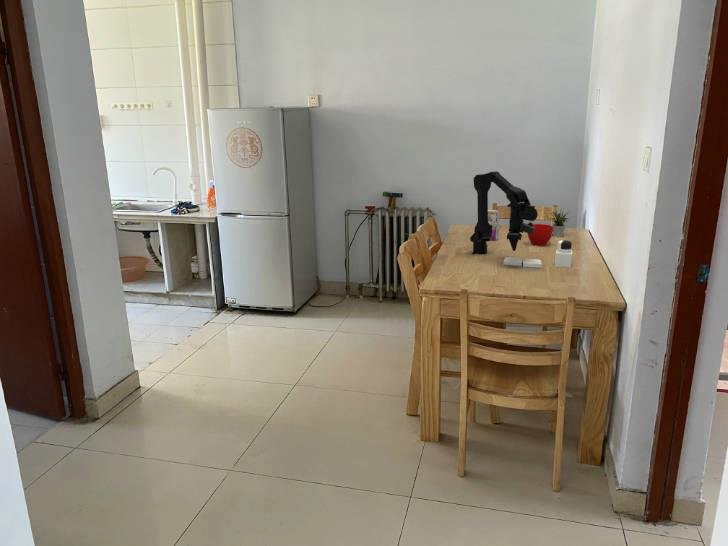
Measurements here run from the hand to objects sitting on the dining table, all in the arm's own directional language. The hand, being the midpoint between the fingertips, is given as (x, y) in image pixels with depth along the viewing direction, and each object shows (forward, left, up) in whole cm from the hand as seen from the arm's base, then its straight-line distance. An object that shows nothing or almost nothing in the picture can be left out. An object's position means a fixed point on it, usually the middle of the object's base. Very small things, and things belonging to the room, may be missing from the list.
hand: (514, 250), depth 267 cm
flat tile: (+9, -3, -6) cm, 11 cm away
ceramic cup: (+11, +46, -7) cm, 48 cm away
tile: (0, +2, -5) cm, 5 cm away
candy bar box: (-18, +50, -7) cm, 54 cm away
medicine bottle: (+22, +2, -7) cm, 23 cm away
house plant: (+18, +70, -7) cm, 73 cm away
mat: (+4, 0, -6) cm, 8 cm away
